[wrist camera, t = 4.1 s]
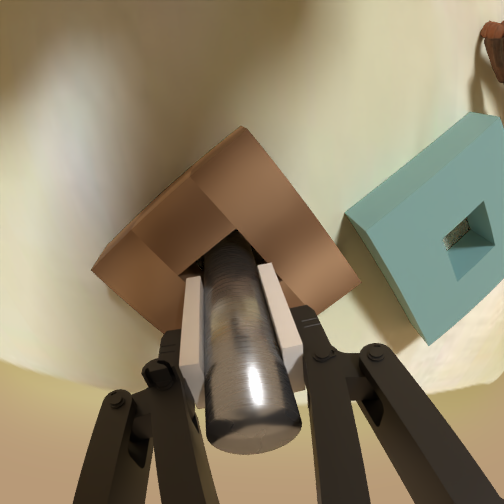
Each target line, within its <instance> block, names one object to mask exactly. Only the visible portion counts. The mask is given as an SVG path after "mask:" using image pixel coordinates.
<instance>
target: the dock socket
mask: <svg viewBox="0 0 504 504" xmlns="http://www.w3.org/2000/svg"><path fill="white" fill-rule="evenodd" d="M345 214H346V216H347V217H348V219H349V220H350V222H351V223H352V225H353V226H354V228H355V229H356V231H357V233H358V234H359V236H360V237H361V239H362V240H363V242H364V244H365V245H366V247H367V248H368V250H369V252H370V253H371V255H372V257H373V258H374V260H375V262H376V263H377V265H378V267H379V268H380V270H381V272H382V273H383V275H384V277H385V278H386V280H387V282H388V283H389V285H390V287H391V289H392V290H393V292H394V294H395V296H396V297H397V299H398V301H399V303H400V305H401V306H402V308H403V310H404V312H405V314H406V315H407V317H408V319H409V321H410V323H411V324H412V325H413V327H414V328H415V329H416V330H417V332H418V333H419V334H420V336H421V337H422V338H423V339H424V341H425V342H426V343H427V345H428V346H429V345H431V344H432V343H433V342H434V341H436V340H437V339H438V338H439V337H441V336H442V335H443V334H444V333H445V332H447V331H448V330H449V329H450V328H451V327H452V326H454V325H455V324H456V323H457V322H458V321H459V320H461V319H462V318H463V317H464V316H465V315H466V314H467V313H468V312H469V311H471V310H472V309H473V308H474V307H475V306H476V305H477V304H478V303H479V302H480V301H481V300H482V299H483V298H484V297H485V296H487V295H488V294H489V293H490V292H491V291H492V290H493V289H494V288H495V287H496V286H497V285H498V284H499V283H500V282H501V281H502V280H503V278H504V128H503V125H502V122H501V119H500V117H497V116H492V115H486V114H480V113H474V112H469V113H468V114H467V115H465V116H464V117H463V118H462V119H461V120H459V121H458V122H457V123H456V124H455V125H453V126H452V127H451V128H450V129H449V130H447V131H446V132H445V133H444V134H443V135H441V136H440V137H439V138H438V139H436V140H435V141H434V142H433V143H431V144H430V145H429V146H428V147H427V148H425V149H424V150H423V151H422V152H420V153H419V154H418V155H417V156H415V157H414V158H413V159H412V160H411V161H409V162H408V163H407V164H406V165H404V166H403V167H402V168H401V169H399V170H398V171H397V172H396V173H394V174H393V175H392V176H391V177H389V178H388V179H387V180H385V181H384V182H383V183H382V184H380V185H379V186H378V187H377V188H375V189H374V190H373V191H372V192H370V193H369V194H368V195H367V196H365V197H364V198H363V199H361V200H360V201H359V202H358V203H356V204H355V205H354V206H352V207H351V208H350V209H349V210H347V211H346V212H345ZM466 217H467V220H468V223H469V227H470V230H469V231H468V232H467V233H466V234H465V235H464V236H463V237H462V238H461V239H460V240H459V241H457V242H456V243H455V244H454V245H453V246H452V247H451V248H450V249H449V250H447V251H446V248H445V245H444V243H443V240H442V239H443V238H444V237H445V236H446V235H447V234H448V233H450V232H451V231H452V230H453V229H454V228H455V227H456V226H457V225H458V224H459V223H460V222H462V221H463V220H464V219H465V218H466Z"/></svg>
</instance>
